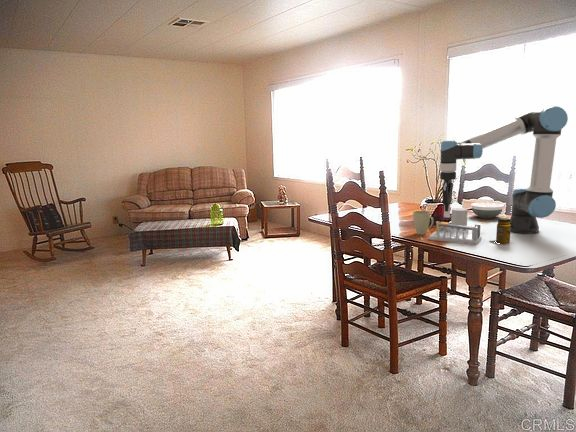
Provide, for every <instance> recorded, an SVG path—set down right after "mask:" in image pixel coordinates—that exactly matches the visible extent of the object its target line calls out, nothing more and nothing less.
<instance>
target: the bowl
mask: <svg viewBox="0 0 576 432" xmlns="http://www.w3.org/2000/svg"><path fill="white" fill-rule="evenodd" d="M470 205H471V210H472V212H473V213H474V215H476V216H477V217H478V218H480V219H489V220H491V219H494V218H496V217H498V216H500V215H501V214H502V212H503V208H504V207H505V205H504V204H503V203H500V202H499V203H498V202H493V201H492V202H490V201H485V202H484V201H482V202H481V201H479V202H478V201H477V202H472V203H471V204H470Z"/></svg>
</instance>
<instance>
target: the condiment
mask: <svg viewBox="0 0 576 432" xmlns="http://www.w3.org/2000/svg"><path fill="white" fill-rule="evenodd" d="M510 230H511V225H510V218H507V217H500V218H498V219H497V224H496V234H495V236H496V237H495V238H496V239H495V240H488V242H490V243H492V244H494V245H498V246H502V245H512V243H513V242H512V241H511V231H510ZM495 241H496V242H497V243H500V244H497V243H496V242H495ZM510 241H511V242H510ZM494 242H495V243H494ZM509 243H511V244H509Z"/></svg>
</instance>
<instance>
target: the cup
mask: <svg viewBox="0 0 576 432" xmlns="http://www.w3.org/2000/svg"><path fill="white" fill-rule="evenodd" d="M450 219H451V220H450V224H455V225H464V226H468V208H463V207H454V208H451V215H450ZM451 229H452V228H450V230H451ZM457 230H458V228H456V231H457ZM464 230H465V229H462V233H463V231H464Z"/></svg>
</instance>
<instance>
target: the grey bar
mask: <svg viewBox="0 0 576 432" xmlns="http://www.w3.org/2000/svg"><path fill="white" fill-rule="evenodd" d="M439 226H440V227H445V228H447V227H449V228H450V229H451V228H458V229H467V230H469V231H472V227H478V230H479V229H480V230H481V226H480V227H479V226H475V225H474V226H472V225H471V226H470V225H467V226H464V225H455V224H451V223H450V222H445V221H440V224H439Z"/></svg>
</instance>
